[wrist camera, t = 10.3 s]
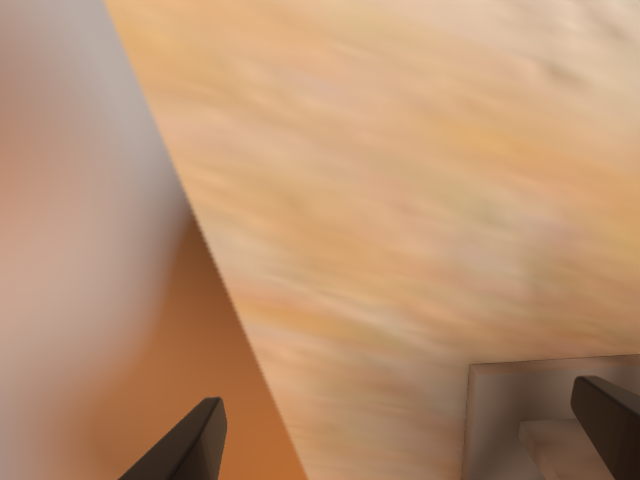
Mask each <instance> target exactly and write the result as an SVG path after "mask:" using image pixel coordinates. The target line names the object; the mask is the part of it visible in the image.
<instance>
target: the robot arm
mask: <svg viewBox="0 0 640 480" xmlns="http://www.w3.org/2000/svg"><path fill="white" fill-rule="evenodd" d="M570 405H571V409H572V411H573V413H574V415H575V416H576V418H577V420H578V421H579V423H580V425H581V426H582V428H583V430H584V431H585V433H586V434H587V436H588V438H589V439H590V441H591V443H592V444H593V446H594V447H595V449H596V451H597V452H598V454H599V456H600V457H601V459H602V461H603V462H604V464H605V465H606V467H607V469H608V470H609V472H610V473H611V475H612V476H613V478H614V479H615V480H640V395H638V394H635V393H633V392H631V391H629V390H627V389H625V388H622V387H620V386H618V385H616V384H614V383H612V382H609V381H607V380H605V379H603V378H601V377H598V376H596V375H580V376H577V377H576V378H575V379H574V383H573V389H572V394H571V399H570ZM226 433H227V419H226V414H225V409H224V403H223V400H222V398H221V397H218V396H217V397H206V398H204V399H203V400H202V401H201V402H200V403H199V404H198V405H196V406H195V407H194V408H193V409H192V410H191V411H190V412H189V413H188V414H187V415H186V416H185V417H184V418H183V419H182V420H180V421H179V423H177V424H176V425H175V426H174V427H173V428H172V429H171V430H170V431H169V432H168V433H167V434H166V435H164V437H162V438H161V439H160V440H159V441H158V442H157V443H156V444H155V445H154V446H153V447H152V448H151V449H150V450H149V451H147V452H146V453H145V454H144V455H143V456H142V457H141V458H140V459H139V460H138V461H137V462H136V463H135V464H134V465H133V466H132V467H131V468H129V469H128V470H127V471H126V472H125V473H124V474H123V475H122V476H121V477H120V478H119V479H118V480H218V475H219V470H220V464H221V459H222V454H223V448H224V443H225V438H226Z"/></svg>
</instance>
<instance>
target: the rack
mask: <svg viewBox="0 0 640 480" xmlns="http://www.w3.org/2000/svg"><path fill="white" fill-rule="evenodd" d="M580 375H596V376H598V377H601V378H603V379H605V380H607V381H609V382H612V383H614V384H616V385H618V386H620V387H622V388H625V389H627V390H629V391H631V392H633V393H635V394H638V395H640V354H639V355H622V356H605V357H589V358H572V359H555V360H539V361H522V362H505V363H488V364H472V365H470V367H469V381H468V395H467V409H466V423H465V437H464V451H463V465H462V479H461V480H615V479H614V478H613V476H612V475H611V473H610V472H609V470H608V469H607V467H606V465H605V464H604V462H603V461H602V459H601V457H600V456H599V454H598V452H597V451H596V449H595V447H594V446H593V444H592V443H591V441H590V439H589V438H588V436H587V434H586V433H585V431H584V430H583V428H582V426H581V425H580V423H579V421H578V420H577V418H576V416H575V415H574V413H573V411H572V409H571V405H570V399H571V394H572V389H573V383H574V379H575V378H576V377H577V376H580Z"/></svg>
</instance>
